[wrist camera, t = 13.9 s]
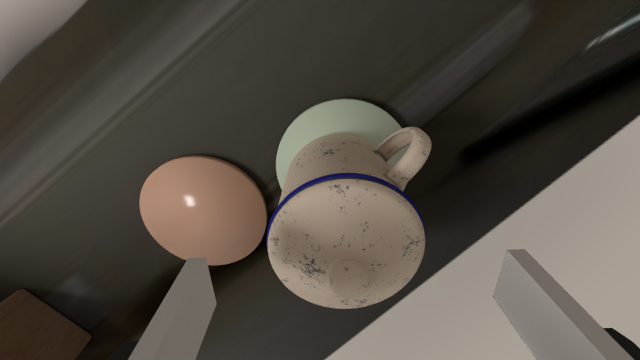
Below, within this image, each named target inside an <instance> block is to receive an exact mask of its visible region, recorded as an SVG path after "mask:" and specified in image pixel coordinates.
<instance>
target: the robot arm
mask: <svg viewBox="0 0 640 360" xmlns="http://www.w3.org/2000/svg"><path fill="white" fill-rule="evenodd" d="M493 298H494V299H495V300H496V302H497V303H498V305H499V306H500V308H501V309H502V311H503V312H504V313H505V315H506V316H507V318H508V319H509V321H510V322H511V324H512V325H513V327H514V328H515V329H516V331H517V332H518V334H519V335H520V337H521V338H522V340H523V341H524V342H525V344H526V345H527V347H528V348H529V350H530V351H531V353H532V354H533V356H534V357H535V359H536V360H640V348H639V347H637V346H636V345H635V344H634V343H633V342H632V341H631V340H629V339H628V338H626V337H625V336H623V335H622V334H620V333H619V332H617V331H616V330H614V329H613V328H602V327H601V326H600V325H599V324H598V323H597V322H596V321H595V320H594V319H593V318H592V317H591V316H590V315H589V314H588V313H587V312H586V311H585V310H584V309H583V308H582V307H581V306H580V305H579V304H578V303H577V302H576V301H575V300H574V299H573V298H572V297H571V296H570V295H569V294H568V293H567V292H566V291H565V290H564V289H563V288H562V287H561V286H560V285H559V284H558V283H557V282H556V281H555V280H554V279H553V278H552V277H551V276H550V275H549V274H548V273H547V272H546V271H545V270H544V269H543V268H542V267H541V266H540V265H539V264H538V262H537V261H536V260H535V259H534V258H533V257H532V256H531V255H530V254H528V252H527V251H525V250H524V249H523V250H507V251H506V255H505V258H504V261H503V265H502V268H501V272H500V276H499V278H498V282H497V285H496V289H495V292H494V295H493ZM216 304H217V303H216V299H215V295H214V290H213V286H212V282H211V278H210V273H209V269H208V265H207V260H206V258H188V259H187V261H186V263H185V264H184V266H183V268H182V270H181V271H180V273H179V275H178V276H177V278H176V280H175V281H174V283H173V285H172V286H171V288H170V290H169V291H168V293H167V295H166V296H165V298H164V300H163V302H162V303H161V305H160V307H159V308H158V310H157V312H156V313H155V315H154V317H153V318H152V320H151V322H150V323H149V325H148V327H147V328H146V330H145V332H144V334H143V335H142V337H141V339H140V340H139V341H124V342H123V343H122V344H121V345H120V346H119V347H118V348H117V349H116V350H114V351H113V352H112V353H111V354H110V355H109V357H108V358H107V360H195V359H196V356H197V354H198V351H199V349H200V346H201V343H202V341H203V338H204V335H205V333H206V330H207V328H208V325H209V322H210V320H211V317H212V315H213V312H214V309H215V307H216Z"/></svg>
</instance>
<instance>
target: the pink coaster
mask: <svg viewBox="0 0 640 360" xmlns="http://www.w3.org/2000/svg"><path fill="white" fill-rule="evenodd" d="M139 204H140V212H141V216H142V219H143V222H144V224H145V226H146V228H147V229H148V231H149V233H150V234H151V235H152V237H153V238H154V239H155V240H156V241H157V242H158V243H159V244H160V245H161V246H162V247H164V248H165V249H166V250H168V251H169V252H170V253H172V254H174V255H176V256H177V257H180V258H182V259H184V260H187V259H188V258H206V260H207V265H223V264H229V263H232V262H236V261H238V260H240V259H242V258H244V257H246V256H247V255H249V254H250V253H251V252H252V251H253V250H254V249H255V248H256V247H257V246H258V244H259V243H260V241H261V240H262V237H263V235H264V232H265V228H266V225H267V218H268V216H267V207H266V202H265V199H264V197H263V195H262V193H261V191H260V189H259V188H258V186H257V185H256V183H255V182H254V181H253V180H252V179H251V178H250V177H249V176H248V175H247V174H246V173H245V172H244V171H242V170H241V169H240V168H238V167H237V166H235V165H233V164H231V163H229V162H227V161H225V160H222V159H219V158H216V157H212V156H206V155H185V156H181V157H177V158H174V159H171V160H169V161H168V162H166V163H164V164H163V165H161V166H160V167H159V168H157V169H156V170H155V171H154V172H153V173H152V174H151V175H150V176H149V177H148V178H147V180H146V181H145V183H144V185H143V187H142V190H141V194H140V203H139Z"/></svg>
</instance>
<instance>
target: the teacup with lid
mask: <svg viewBox="0 0 640 360" xmlns="http://www.w3.org/2000/svg"><path fill="white" fill-rule="evenodd" d="M408 145H410V146H409V148H408V149H407V151H406V153H405V154H404V155H403V157H402V158H401V159H400V160H399V161H398V162H397V163H396V164H395V165H394V166H393V167H392V168H391V167H390V165H389V164H388V162H387V161H388V160H389V159H390V158H391V157H392V156H393V155H395V154H396V153H397V152H398V151H399V150H401V149H402V148H404V147H405V146H408ZM430 151H431V140H430V138H429V136H428V135H427V134H426V133H425V132H424V131H422V130H421V129H419V128H417V127H406V128H402V129H400V130H398V131H396V132H394V133H393V134H391V135H390V136H389V137H387V138H386V139H385V140H384V141H383V142H382V143H381V144H380V145H379V146H378V147H376V146H374V145H373V144H372V143H370V142H369V141H367V140H365V139H363V138H361V137H358V136H354V135H350V134H330V135H326V136H322V137H319V138H317V139H315V140H313V141H311V142H309V143H308V144H306V145H305V146H304V147H303V148H302V149H300V151H299V152H298V153H297V154H296V155H295V157H294V158H293V160H292V161H291V163H290V166H289V168H288V171H287V175H286V179H285V183H284V186H283V190H282V194H281V197H280V201H279V205H278V207H277V208H276V210H275V211H274V213H273V215H272V217H271V220H270V223H269V226H268V230H267V239H266V242H267V251H268V255H269V259H270V262H271V265H272V267H273V269H274V271H275V273H276V274H277V276H278V277H279V279H280V280H281V281H282V282H283V284H284V285H285V286H286V287H287V288H288V289H289V290H291V291H292V292H293V293H294V294H296V295H298V296H299V297H301V298H303V299H305V300H307V301H309V302H311V303H314V304H317V305H320V306H324V307H329V308H338V309H351V308H359V307H365V306H369V305H372V304H375V303H378V302H381V301H383V300H385V299H387V298H389V297H391V296H392V295H394V294H395V293H397V292H398V291H399V290H401V289H402V288H403V287H404V286H405V285H406V284H407V283H408V282H409V281H410V280H411V278H412V277H413V276H414V274H415V273H416V271H417V269H418V267H419V265H420V263H421V261H422V258H423V254H424V249H425V227H424V223H423V219H422V217H421V214H420V212H419V210H418V209H417V207H416V205H415V204H414V203H413V201H412V200H411V199H410V198H409V197H408V196H407V195H406V194H405V193H404V192H403V190H402V187H403V186H404V185H405V184H406V183H407V182H408V181H409V180H410V179H411V178H413V177H414V176H415V174H416V173H417V172H418V171H419V170H420V169H421V168H422V166H423V165H424V163H425V162H426V160H427V158H428V156H429V154H430Z"/></svg>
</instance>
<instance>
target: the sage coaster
mask: <svg viewBox="0 0 640 360" xmlns="http://www.w3.org/2000/svg"><path fill="white" fill-rule="evenodd" d="M400 129H402V128H401V127H400V125H399V124H398V123H397V122H396V120H395V119H394V118H393V117H392V116H391V115H389V114H388V113H387V112H386V111H385V110H383V109H382V108H380V107H378V106H376V105H374V104H372V103H370V102H367V101H364V100H359V99H354V98H337V99H331V100H327V101H323V102H321V103H318V104H315V105H314V106H312V107H310V108H308V109H306V110H305V111H304V112H302V113H301V114H300V115H299V116H298V117H297V118H295V119H294V120H293V122H292V123H291V124H290V125H289V127H288V128H287V130H286V132H285V133H284V135H283V137H282V140H281V142H280V145H279V148H278V152H277V158H276V172H277V178H278V181H279V184H280V187H281V189H282V190H283V186H284V183H285V179H286V175H287V171H288V168H289V166H290V163H291V161H292V160H293V158H294V157H295V155H296V154H297V153H298V152H299V151H300V149H302V148H303V147H304V146H305V145H306V144H308V143H309V142H311V141H313V140H315V139H317V138H319V137H322V136H326V135H330V134H350V135H354V136H358V137H361V138H363V139H365V140H367V141H369V142H370V143H372V144H373V145H374V146H376V147H378V146H379V145H380V144H381V143H382V142H383V141H384V140H385V139H386V138H387V137H389V136H390V135H391V134H393V133H394V132H396V131H398V130H400ZM409 146H410V145H408V146H405V147H404V148H402V149H401V150H399V151H398V152H397V153H396V154H395V155H393V156H392V157H391V158H390V159H389V160H388V161H387V162H388V164H389V165H390V167H391V168H392V167H393V166H394V165H395V164H396V163H397V162H398V161H399V160H400V159H401V158H402V157H403V155H404V154H405V153H406V151H407V149H408V148H409ZM406 185H407V183H406V184H405V185H404V186H403V187H402V190H403V191H404V189H405V187H406Z"/></svg>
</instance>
